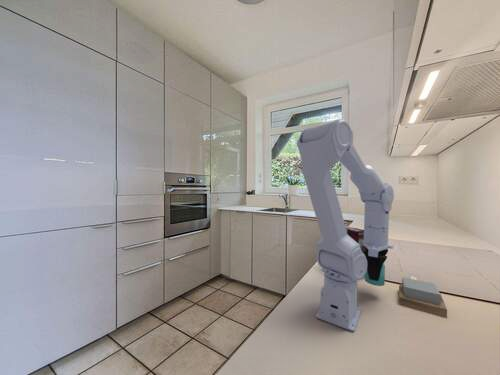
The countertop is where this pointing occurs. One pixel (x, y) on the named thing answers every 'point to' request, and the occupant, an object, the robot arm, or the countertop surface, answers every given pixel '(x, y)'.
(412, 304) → the tower base
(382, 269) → the cylinder
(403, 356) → the countertop surface
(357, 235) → the supplement box
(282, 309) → the countertop surface
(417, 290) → the tower top
